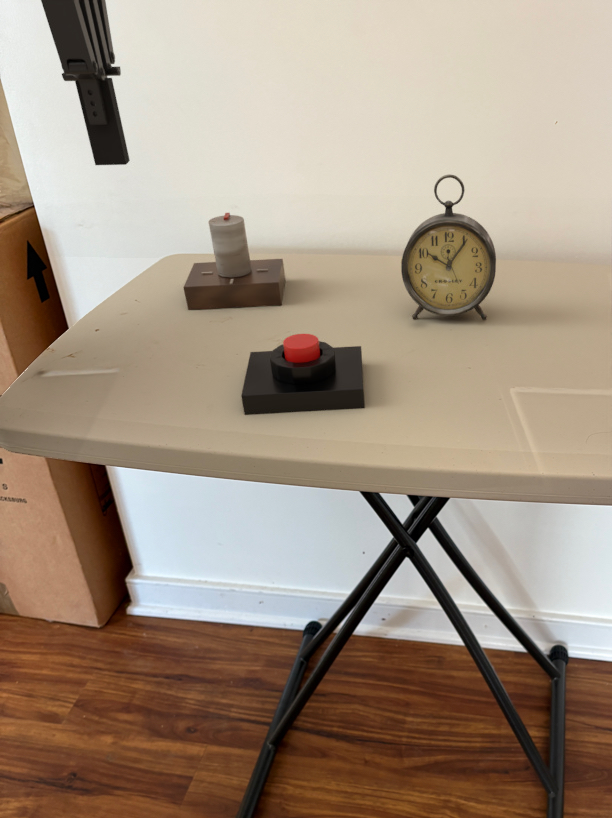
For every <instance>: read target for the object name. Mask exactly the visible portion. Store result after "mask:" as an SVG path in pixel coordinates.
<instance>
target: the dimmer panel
mask: <svg viewBox="0 0 612 818" xmlns="http://www.w3.org/2000/svg"><path fill="white" fill-rule="evenodd" d="M250 262H251V269H252V270H251V272H250V273H249V274H247V275H244V276H241V277H234V278H228V277H222V276H220V275H218V272H217V267H216V261H209V262H193V264H192V267H191V269H190V271H189V274H188V276H187V279H186V280H185V283H184V284H183V291H184V295H185V296H184V297H185V301H186V306H187V310H188V311H193V310H211V309H229V308H230V309H231V308H234V309H235V308H251V307H268V306H282V304H283V298H284V292H285V286H286V273H285V266H284V259H283V258H270V259H269V258H268V259H250Z"/></svg>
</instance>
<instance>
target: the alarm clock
mask: <svg viewBox="0 0 612 818" xmlns="http://www.w3.org/2000/svg"><path fill="white" fill-rule="evenodd" d="M445 179H453V180H455V181H457V182H458V184H459V185H460V187H461V194H460V196H459V198H458V199H457V200H456V201H455V202H453V201H451V200H446V201H445V202H444V201H442V200H441V199H440V198H439V195H438V192H437V191H438V186H439V184H440V183H441V182H442V181H443V180H445ZM433 193H434V196H435V198H436V200H437V201H438V203H439V204H441V205H442V206H443V207H444V208H445V210H444V213H439V214H435V215H432V216H431V217H429V218H427V219H425V220H424V221H423V222H421V223H420V224H419V226H417V227H416V228H415V229H414V231H413V232H412V234H411V235H410V237H409V239H408V241H407V243H406V246H405V248H404V250H403V254H402V257H401V266H400V267H401V268H400V269H401V278H402V282H403V285H404V287H405V289H406V292H407V293H408V295H409V296H410V298H411V299H412V300H413V301H414V302H415V303H416V304H417V305H418V306H417V308H416V309H415V312H414V314H412V315H411V318H412V320H417V319H418V316H419V315H420V314H421V313H422V312H423V311H424V310H425V311H427V312H429V313H432V314H434V315H436V316H437V315H438V316H443V317H454V316H459V315H462V314H466V313H468V312H471V311H472V310H475V312H476V313H477V314H478V315H479V316H480V317H481V320H483V321H485V320H487V318H488V317H487V314H485V313H484V312H483V311H484V310H483V309H482V307H481V306H480V304H482V302H483V301H485V299H486V298H487V296H488V295H489V294H490V292H491V290H492V288H493V285H494V281H495V278H496V272H497V271H496V270H497V269H496V268H497V254H496V249H495V245H494V242H493V240H492V238H491V236H490V234H489V233H488V231H487V229H485V227H484V226H483V225H482V224H481V223H479V222H478V221H477V220H476V219H474V218H472V217H470V216H468V215H465V214H462V213H458V212H453V207H454V206H455V205H458V204H459V203H460V202H461V201H462V199H463V197H464V194H465V185H464V183H463V181H462V179H461V178H459V177H458V176H457V175H456V174H455V175H454V174H445V175H442V176H441V177H439V178H438V179H437V181H436V182H435V184H434V186H433Z"/></svg>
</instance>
